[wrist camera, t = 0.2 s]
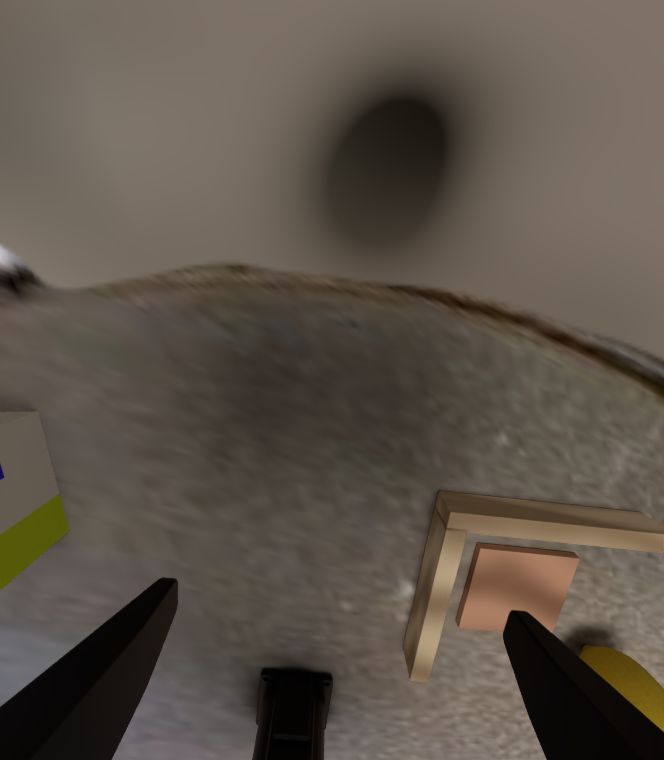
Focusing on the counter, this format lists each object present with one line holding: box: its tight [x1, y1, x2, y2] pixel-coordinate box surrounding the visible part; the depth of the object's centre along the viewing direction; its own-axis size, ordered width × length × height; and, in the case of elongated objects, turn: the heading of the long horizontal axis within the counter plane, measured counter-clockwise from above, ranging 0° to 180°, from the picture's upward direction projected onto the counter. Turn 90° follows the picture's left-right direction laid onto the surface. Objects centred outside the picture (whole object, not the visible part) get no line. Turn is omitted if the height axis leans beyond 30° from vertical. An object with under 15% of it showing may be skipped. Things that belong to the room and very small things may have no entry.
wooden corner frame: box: [403, 491, 664, 682], centre depth 25 cm, size 16×16×2 cm
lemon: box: [579, 645, 664, 732], centre depth 24 cm, size 6×6×8 cm
